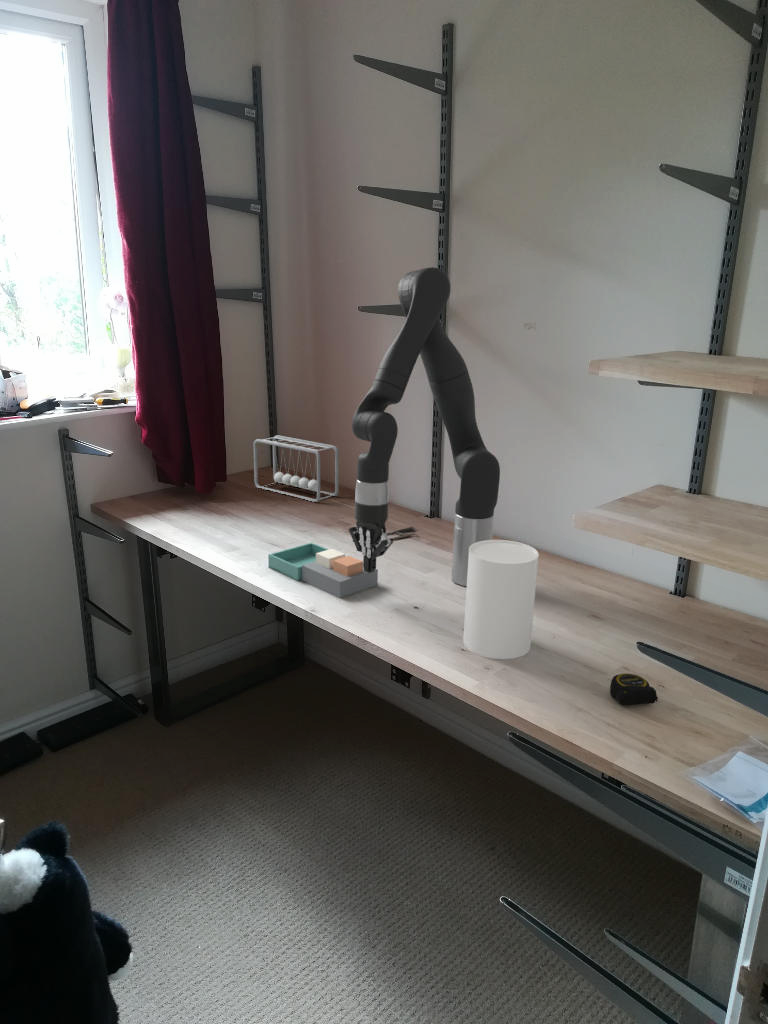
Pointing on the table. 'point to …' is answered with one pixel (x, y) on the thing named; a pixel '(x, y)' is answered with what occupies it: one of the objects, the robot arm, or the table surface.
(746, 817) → the table surface
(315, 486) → the newton's cradle
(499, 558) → the canister
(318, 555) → the cream tile
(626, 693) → the tape measure
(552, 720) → the table surface
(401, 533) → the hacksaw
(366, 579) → the grey flat block
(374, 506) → the robot arm
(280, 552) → the box
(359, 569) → the terracotta tile
